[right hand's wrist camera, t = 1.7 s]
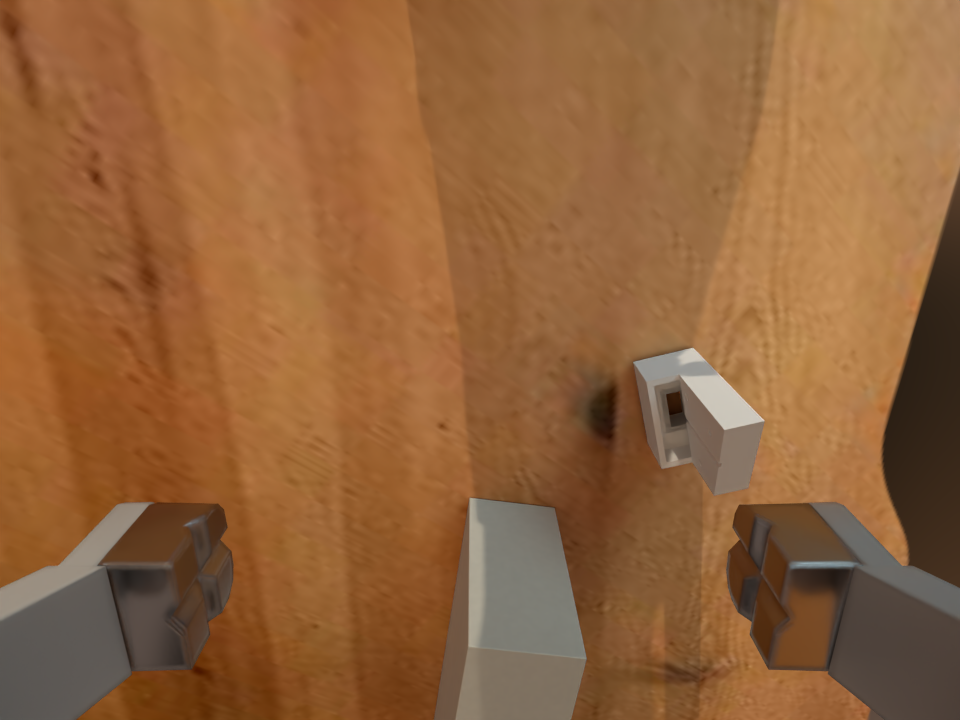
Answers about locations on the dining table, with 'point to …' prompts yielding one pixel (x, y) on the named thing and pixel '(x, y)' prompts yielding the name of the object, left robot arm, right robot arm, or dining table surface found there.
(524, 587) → the box
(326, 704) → the dining table surface
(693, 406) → the white angled block
